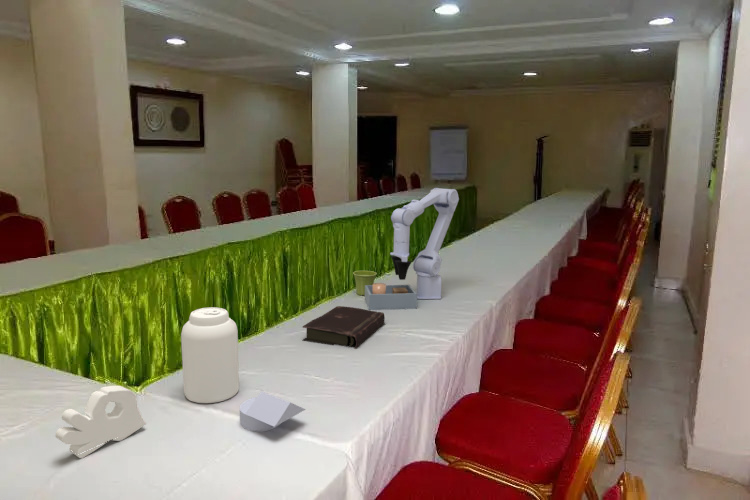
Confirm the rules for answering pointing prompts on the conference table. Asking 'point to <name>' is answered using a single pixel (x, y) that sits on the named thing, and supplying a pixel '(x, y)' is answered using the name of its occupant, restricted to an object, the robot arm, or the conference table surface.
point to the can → (210, 356)
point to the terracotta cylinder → (379, 288)
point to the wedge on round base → (266, 412)
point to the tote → (391, 298)
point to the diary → (344, 326)
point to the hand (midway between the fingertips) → (400, 277)
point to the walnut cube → (399, 290)
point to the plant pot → (363, 280)
